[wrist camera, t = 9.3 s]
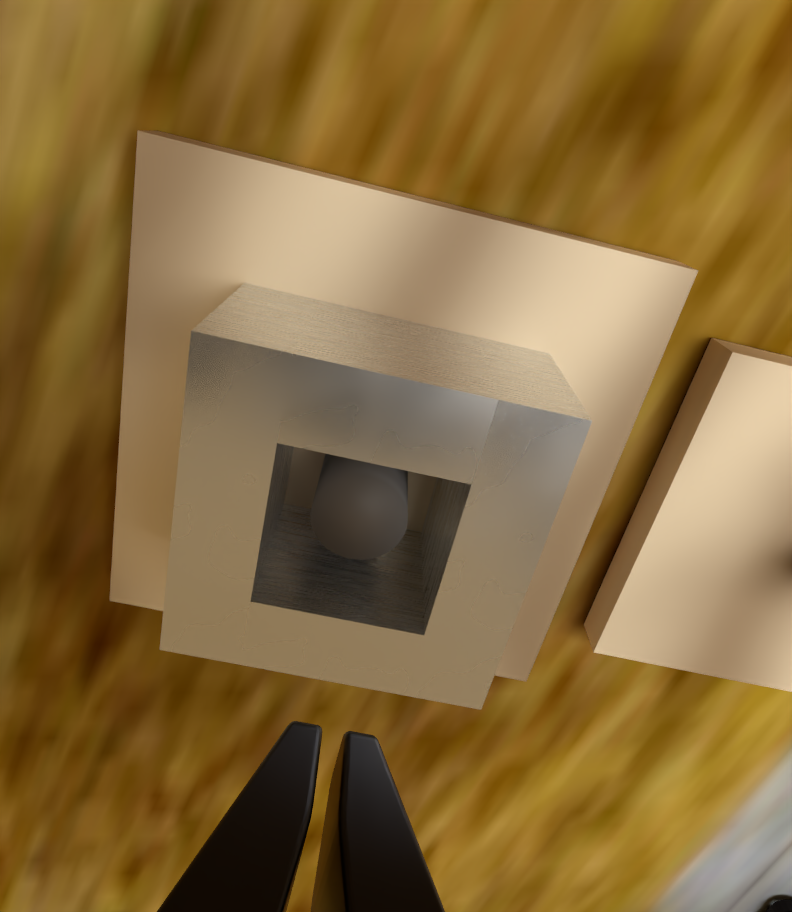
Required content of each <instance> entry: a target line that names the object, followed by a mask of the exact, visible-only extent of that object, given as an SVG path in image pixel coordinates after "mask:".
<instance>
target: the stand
mask: <svg viewBox="0 0 792 912" xmlns="http://www.w3.org/2000/svg"><path fill="white" fill-rule="evenodd" d="M584 627H585V630H586V633H587V635H588V638H589V641H590V644H591V647H592V650H593V652H595V653H600V654H605V655H610V656H615V657H620V658H625V659H630V660H635V661H640V662H645V663H650V664H655V665H660V666H665V667H670V668H675V669H680V670H685V671H690V672H695V673H700V674H705V675H710V676H715V677H720V678H725V679H730V680H735V681H740V682H745V683H750V684H755V685H760V686H765V687H770V688H775V689H780V690H785V691H790V692H792V357H789V356H785V355H781V354H777V353H772V352H768V351H764V350H760V349H756V348H752V347H748V346H744V345H739V344H735V343H731V342H727V341H723V340H719V339H715V338H711V340H710V342H709V344H708V347H707V349H706V351H705V353H704V356H703V358H702V360H701V362H700V365H699V367H698V369H697V371H696V374H695V376H694V378H693V380H692V382H691V385H690V387H689V389H688V391H687V394H686V396H685V398H684V400H683V403H682V405H681V407H680V409H679V412H678V414H677V416H676V418H675V421H674V423H673V425H672V427H671V430H670V432H669V434H668V436H667V439H666V441H665V443H664V445H663V448H662V450H661V452H660V454H659V457H658V459H657V461H656V463H655V466H654V468H653V470H652V472H651V474H650V477H649V479H648V481H647V483H646V486H645V488H644V490H643V492H642V495H641V497H640V499H639V501H638V504H637V506H636V508H635V510H634V513H633V515H632V517H631V519H630V522H629V524H628V526H627V528H626V531H625V533H624V535H623V537H622V540H621V542H620V544H619V546H618V549H617V551H616V553H615V555H614V557H613V560H612V562H611V564H610V566H609V569H608V571H607V573H606V575H605V578H604V580H603V582H602V584H601V587H600V589H599V591H598V593H597V596H596V598H595V600H594V602H593V605H592V607H591V609H590V611H589V614H588V616H587V618H586V620H585V623H584Z"/></svg>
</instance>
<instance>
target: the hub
mask: <svg viewBox="0 0 792 912" xmlns="http://www.w3.org/2000/svg"><path fill="white" fill-rule="evenodd" d="M697 272H698V270H696V269H693V268H691V267H689V266H687V265H685V264H683V263H681V262H679V261H675V260H671V259H667V258H663V257H659V256H655V255H651V254H647V253H643V252H639V251H635V250H631V249H627V248H623V247H619V246H615V245H611V244H607V243H603V242H599V241H595V240H591V239H587V238H583V237H579V236H576V235H572V234H568V233H564V232H560V231H556V230H552V229H548V228H544V227H540V226H536V225H532V224H528V223H524V222H520V221H516V220H512V219H508V218H504V217H500V216H496V215H492V214H488V213H484V212H480V211H476V210H472V209H468V208H464V207H460V206H456V205H452V204H448V203H444V202H440V201H436V200H432V199H428V198H424V197H420V196H416V195H412V194H408V193H404V192H400V191H396V190H392V189H388V188H384V187H380V186H376V185H372V184H368V183H364V182H360V181H356V180H352V179H348V178H344V177H340V176H336V175H332V174H328V173H324V172H320V171H316V170H312V169H308V168H304V167H300V166H296V165H292V164H288V163H284V162H280V161H276V160H272V159H268V158H265V157H261V156H257V155H253V154H249V153H245V152H241V151H237V150H233V149H229V148H225V147H221V146H217V145H213V144H209V143H205V142H201V141H197V140H193V139H189V138H185V137H181V136H177V135H173V134H169V133H165V132H161V131H138V132H137V149H136V166H135V182H134V199H133V216H132V233H131V249H130V266H129V283H128V299H127V316H126V333H125V349H124V366H123V383H122V399H121V416H120V433H119V450H118V466H117V483H116V500H115V516H114V533H113V550H112V566H111V583H110V600H109V601H114V602H119V603H124V604H129V605H134V606H139V607H145V608H150V609H155V610H160V611H163V609H164V599H165V589H166V579H167V569H168V559H169V549H170V539H171V528H172V518H173V508H174V498H175V488H176V478H177V468H178V458H179V448H180V438H181V428H182V418H183V408H184V397H185V387H186V377H187V367H188V357H189V347H190V337H191V330H193V329H194V328H195V327H196V326H197V325H198V324H199V323H200V322H201V321H203V320H204V319H205V318H206V317H207V316H208V315H209V314H210V313H211V312H213V311H214V310H215V309H216V308H217V307H218V306H219V305H220V304H222V303H223V302H224V301H225V300H226V299H227V298H228V297H229V296H230V295H232V294H233V293H234V292H235V291H236V290H237V289H238V288H239V287H240V286H242V285H243V284H244V283H247V284H252V285H256V286H260V287H265V288H269V289H273V290H278V291H282V292H286V293H290V294H295V295H299V296H303V297H308V298H312V299H316V300H321V301H325V302H329V303H334V304H338V305H342V306H347V307H351V308H355V309H360V310H364V311H368V312H372V313H377V314H381V315H385V316H390V317H394V318H398V319H403V320H407V321H411V322H416V323H420V324H424V325H429V326H433V327H437V328H442V329H446V330H450V331H454V332H459V333H463V334H467V335H472V336H476V337H480V338H485V339H489V340H493V341H498V342H502V343H506V344H511V345H515V346H519V347H524V348H528V349H532V350H536V351H541V352H545V353H549V354H550V355H551V357H552V358H553V360H554V361H555V363H556V364H557V366H558V368H559V369H560V371H561V372H562V374H563V376H564V377H565V379H566V380H567V382H568V383H569V385H570V387H571V388H572V390H573V391H574V393H575V394H576V396H577V398H578V399H579V401H580V402H581V404H582V406H583V407H584V409H585V410H586V412H587V413H588V415H589V417H590V418H591V420H592V423H591V425H590V428H589V431H588V433H587V436H586V438H585V441H584V444H583V446H582V449H581V451H580V454H579V457H578V459H577V462H576V464H575V467H574V470H573V472H572V475H571V477H570V480H569V483H568V485H567V488H566V490H565V493H564V496H563V498H562V501H561V503H560V506H559V509H558V511H557V514H556V516H555V519H554V522H553V524H552V527H551V529H550V532H549V535H548V537H547V540H546V542H545V545H544V548H543V550H542V553H541V555H540V558H539V561H538V563H537V566H536V568H535V571H534V574H533V576H532V579H531V581H530V584H529V587H528V589H527V592H526V594H525V597H524V600H523V602H522V605H521V607H520V610H519V613H518V615H517V618H516V620H515V623H514V626H513V628H512V631H511V633H510V636H509V639H508V641H507V644H506V646H505V649H504V652H503V654H502V657H501V659H500V662H499V665H498V667H497V670H496V672H495V676H500V677H506V678H511V679H516V680H521V681H527V679H528V676H529V674H530V671H531V669H532V667H533V664H534V662H535V659H536V657H537V655H538V652H539V650H540V647H541V645H542V643H543V640H544V638H545V636H546V633H547V631H548V628H549V626H550V624H551V621H552V619H553V616H554V614H555V612H556V609H557V607H558V604H559V602H560V600H561V597H562V595H563V593H564V590H565V588H566V585H567V583H568V581H569V578H570V576H571V573H572V571H573V569H574V566H575V564H576V561H577V559H578V557H579V554H580V552H581V549H582V547H583V545H584V542H585V540H586V538H587V535H588V533H589V530H590V528H591V526H592V523H593V521H594V518H595V516H596V514H597V511H598V509H599V506H600V504H601V502H602V499H603V497H604V495H605V492H606V490H607V487H608V485H609V483H610V480H611V478H612V475H613V473H614V471H615V468H616V466H617V463H618V461H619V459H620V456H621V454H622V452H623V449H624V447H625V444H626V442H627V440H628V437H629V435H630V432H631V430H632V428H633V425H634V423H635V420H636V418H637V416H638V413H639V411H640V409H641V406H642V404H643V401H644V399H645V397H646V394H647V392H648V389H649V387H650V385H651V382H652V380H653V377H654V375H655V373H656V370H657V368H658V365H659V363H660V361H661V358H662V356H663V354H664V351H665V349H666V346H667V344H668V342H669V339H670V337H671V334H672V332H673V330H674V327H675V325H676V322H677V320H678V318H679V315H680V313H681V311H682V308H683V306H684V303H685V301H686V299H687V296H688V294H689V291H690V289H691V287H692V284H693V282H694V279H695V277H696V275H697ZM436 479H437V477H433V476H429V475H424V474H419V473H415V472H410V471H405V470H401V469H396V468H391V467H386V466H382V465H377V464H372V463H368V462H363V461H358V460H354V459H349V458H344V457H340V456H335V455H330V454H326V453H321V452H316V451H312V450H307V449H302V448H298V447H294V451H293V457H292V462H291V468H290V473H289V479H288V484H287V490H286V495H285V501H284V504H289V505H294V506H299V507H303V508H308V509H311V513H310V520H311V526H312V529H313V531H314V533H315V535H316V537H317V538H318V540H319V541H320V542H321V543H322V544H323V545H324V546H325V547H326V548H327V549H328V550H330V551H331V552H333V553H335V554H337V555H339V556H342V557H345V558H349V559H355V560H365V559H372V558H376V557H379V556H382V555H384V554H386V553H388V552H389V551H391V550H392V549H393V548H394V547H395V546H396V545H397V544H398V543H399V542H400V541H401V539H402V538H403V536H404V534H405V531H406V529H410V530H415V531H420V532H421V531H422V528H423V525H424V521H425V518H426V514H427V511H428V507H429V504H430V500H431V497H432V493H433V490H434V486H435V483H436Z"/></svg>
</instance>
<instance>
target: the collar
mask: <svg viewBox="0 0 792 912" xmlns="http://www.w3.org/2000/svg"><path fill="white" fill-rule="evenodd" d="M591 423H592V420H591V418H590V417H589V415H588V413H587V412H586V410H585V409H584V407H583V406H582V404H581V402H580V401H579V399H578V398H577V396H576V394H575V393H574V391H573V390H572V388H571V387H570V385H569V383H568V382H567V380H566V379H565V377H564V376H563V374H562V372H561V371H560V369H559V368H558V366H557V364H556V363H555V361H554V360H553V358H552V357H551V355H550V354H549V353H545V352H541V351H536V350H532V349H528V348H524V347H519V346H515V345H511V344H506V343H502V342H498V341H493V340H489V339H485V338H480V337H476V336H472V335H467V334H463V333H459V332H454V331H450V330H446V329H442V328H437V327H433V326H429V325H424V324H420V323H416V322H411V321H407V320H403V319H398V318H394V317H390V316H385V315H381V314H377V313H372V312H368V311H364V310H360V309H355V308H351V307H347V306H342V305H338V304H334V303H329V302H325V301H321V300H316V299H312V298H308V297H303V296H299V295H295V294H290V293H286V292H282V291H278V290H273V289H269V288H265V287H260V286H256V285H252V284H247V283H244V284H243V285H242V286H240V287H239V288H238V289H237V290H236V291H235V292H234V293H233V294H232V295H230V296H229V297H228V298H227V299H226V300H225V301H224V302H223V303H222V304H220V305H219V306H218V307H217V308H216V309H215V310H214V311H213V312H211V313H210V314H209V315H208V316H207V317H206V318H205V319H204V320H203V321H201V322H200V323H199V324H198V325H197V326H196V327H195V328H194V329H193V330H191V337H190V347H189V357H188V367H187V377H186V387H185V397H184V408H183V418H182V428H181V438H180V448H179V458H178V468H177V478H176V488H175V498H174V508H173V518H172V528H171V539H170V549H169V559H168V569H167V579H166V589H165V599H164V609H163V619H162V629H161V639H160V649H159V650H164V651H169V652H174V653H180V654H185V655H190V656H196V657H201V658H206V659H212V660H217V661H222V662H228V663H233V664H239V665H244V666H249V667H255V668H260V669H265V670H271V671H276V672H281V673H287V674H292V675H298V676H303V677H308V678H314V679H319V680H324V681H330V682H335V683H340V684H346V685H351V686H356V687H362V688H367V689H373V690H378V691H383V692H389V693H394V694H399V695H405V696H410V697H415V698H421V699H426V700H432V701H437V702H442V703H448V704H453V705H458V706H464V707H469V708H474V709H480V710H481V709H482V706H483V704H484V701H485V698H486V696H487V693H488V691H489V688H490V685H491V683H492V680H493V678H494V675H495V672H496V670H497V667H498V665H499V662H500V659H501V657H502V654H503V652H504V649H505V646H506V644H507V641H508V639H509V636H510V633H511V631H512V628H513V626H514V623H515V620H516V618H517V615H518V613H519V610H520V607H521V605H522V602H523V600H524V597H525V594H526V592H527V589H528V587H529V584H530V581H531V579H532V576H533V574H534V571H535V568H536V566H537V563H538V561H539V558H540V555H541V553H542V550H543V548H544V545H545V542H546V540H547V537H548V535H549V532H550V529H551V527H552V524H553V522H554V519H555V516H556V514H557V511H558V509H559V506H560V503H561V501H562V498H563V496H564V493H565V490H566V488H567V485H568V483H569V480H570V477H571V475H572V472H573V470H574V467H575V464H576V462H577V459H578V457H579V454H580V451H581V449H582V446H583V444H584V441H585V438H586V436H587V433H588V431H589V428H590V425H591ZM294 447H298V448H302V449H307V450H312V451H316V452H321V453H326V454H330V455H335V456H340V457H344V458H349V459H354V460H358V461H363V462H368V463H372V464H377V465H382V466H386V467H391V468H396V469H401V470H405V471H410V472H415V473H419V474H424V475H429V476H433V477H437V479H436V483H435V486H434V490H433V493H432V497H431V500H430V504H429V507H428V511H427V514H426V518H425V521H424V525H423V528H422V531H421V532H420V531H415V530H410V529H406V531H405V534H404V536H403V538H402V539H401V541H400V542H399V543H398V544H397V545H396V546H395V547H394V548H393V549H392V550H391V551H389V552H388V553H386V554H384V555H382V556H379V557H376V558H372V559H365V560H355V559H349V558H345V557H342V556H339V555H337V554H335V553H333V552H331V551H330V550H328V549H327V548H326V547H325V546H324V545H323V544H322V543H321V542H320V541H319V540H318V538H317V537H316V535H315V533H314V531H313V529H312V526H311V520H310V513H311V509H308V508H303V507H299V506H294V505H289V504H284V501H285V495H286V490H287V484H288V479H289V473H290V468H291V462H292V457H293V451H294Z"/></svg>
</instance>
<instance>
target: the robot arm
mask: <svg viewBox="0 0 792 912" xmlns="http://www.w3.org/2000/svg"><path fill="white" fill-rule="evenodd" d="M321 739H322V729H321V727H320V726H318V725H314V724H309V723H303V722H298V721H293V722H291V723H290V724H289V725H288V726H287V727H286V729H285V730H284V732H283V733H282V735H281V736H280V737H279V739H278V740H277V742H276V743H275V745H274V746H273V747H272V749H271V750H270V752H269V753H268V754H267V756H266V757H265V759H264V760H263V762H262V763H261V764H260V766H259V767H258V769H257V770H256V772H255V773H254V774H253V776H252V777H251V779H250V780H249V781H248V783H247V784H246V786H245V787H244V789H243V790H242V791H241V793H240V794H239V796H238V797H237V799H236V800H235V801H234V803H233V804H232V806H231V807H230V808H229V810H228V811H227V813H226V814H225V816H224V817H223V818H222V820H221V821H220V823H219V824H218V826H217V827H216V828H215V830H214V831H213V833H212V834H211V835H210V837H209V838H208V840H207V841H206V843H205V844H204V845H203V847H202V848H201V850H200V851H199V853H198V854H197V855H196V857H195V858H194V860H193V861H192V862H191V864H190V865H189V867H188V868H187V870H186V871H185V872H184V874H183V875H182V877H181V878H180V880H179V881H178V882H177V884H176V885H175V887H174V888H173V890H172V891H171V892H170V894H169V895H168V897H167V898H166V899H165V901H164V902H163V904H162V905H161V907H160V908H159V909H158V911H157V912H286V910H287V906H288V903H289V899H290V895H291V891H292V887H293V884H294V880H295V876H296V872H297V869H298V865H299V861H300V857H301V854H302V850H303V846H304V842H305V838H306V835H307V831H308V827H309V823H310V819H311V814H312V808H313V802H314V794H315V787H316V779H317V771H318V763H319V755H320V747H321ZM311 912H445V911H444V908H443V905H442V903H441V900H440V898H439V895H438V893H437V890H436V888H435V885H434V882H433V880H432V877H431V875H430V872H429V870H428V867H427V864H426V862H425V859H424V857H423V854H422V852H421V849H420V846H419V844H418V841H417V839H416V836H415V834H414V831H413V829H412V826H411V823H410V821H409V818H408V816H407V813H406V811H405V808H404V805H403V803H402V800H401V798H400V795H399V793H398V790H397V787H396V785H395V782H394V780H393V777H392V775H391V772H390V770H389V767H388V764H387V762H386V759H385V757H384V754H383V752H382V749H381V746H380V744H379V742H378V740H377V738H376V737H375V736H373V735H369V734H363V733H358V732H352V731H348V732H346V733H345V734H344V736H343V739H342V742H341V746H340V749H339V753H338V757H337V760H336V764H335V768H334V771H333V775H332V779H331V784H330V789H329V795H328V802H327V808H326V815H325V821H324V827H323V834H322V840H321V847H320V853H319V859H318V866H317V872H316V879H315V885H314V891H313V898H312V906H311ZM766 912H792V900H780V901H777V902H775V903H773V904H772V905H771V906H770V908H769V909H768V910H767V911H766Z"/></svg>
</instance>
